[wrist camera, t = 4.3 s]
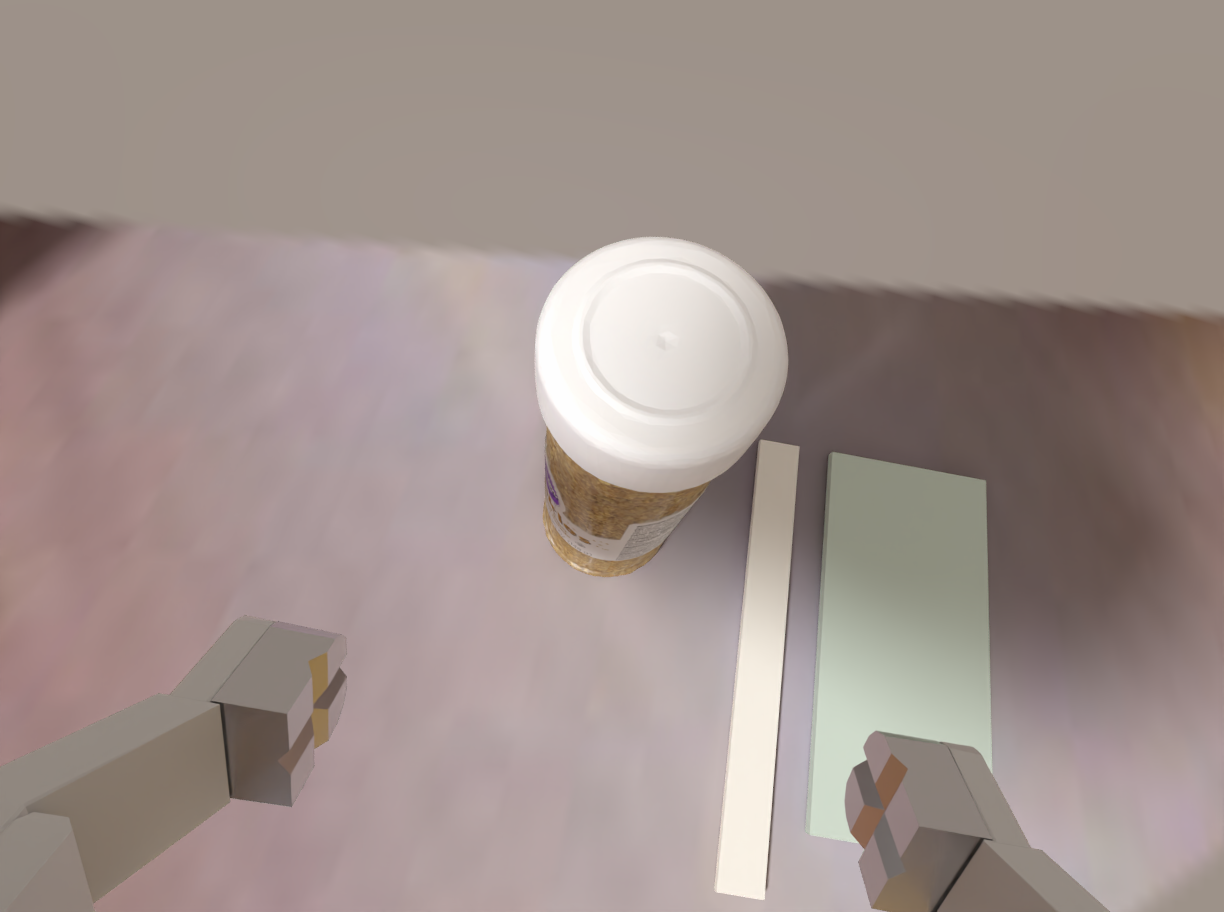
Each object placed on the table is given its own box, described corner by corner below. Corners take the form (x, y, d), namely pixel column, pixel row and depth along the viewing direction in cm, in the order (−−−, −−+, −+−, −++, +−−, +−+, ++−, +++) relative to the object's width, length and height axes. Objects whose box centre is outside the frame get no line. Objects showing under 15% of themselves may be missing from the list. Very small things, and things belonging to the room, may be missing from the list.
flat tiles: (714, 889, 21) (717, 893, 20) (758, 441, 26) (761, 438, 25) (987, 935, 21) (995, 939, 21) (979, 483, 26) (985, 480, 25)
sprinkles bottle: (521, 491, 24) (487, 282, 12) (630, 437, 25) (709, 191, 13) (581, 604, 23) (615, 511, 10) (692, 543, 24) (848, 391, 11)
